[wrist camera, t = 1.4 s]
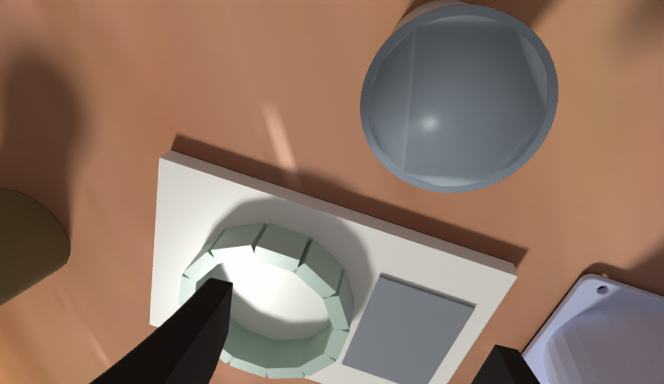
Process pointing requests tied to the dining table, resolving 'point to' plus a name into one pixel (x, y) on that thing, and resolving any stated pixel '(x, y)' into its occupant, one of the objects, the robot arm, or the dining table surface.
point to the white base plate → (318, 280)
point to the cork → (28, 244)
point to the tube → (458, 97)
